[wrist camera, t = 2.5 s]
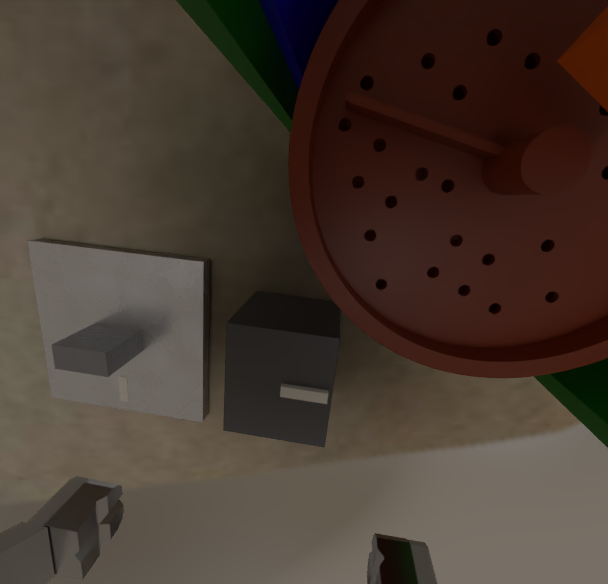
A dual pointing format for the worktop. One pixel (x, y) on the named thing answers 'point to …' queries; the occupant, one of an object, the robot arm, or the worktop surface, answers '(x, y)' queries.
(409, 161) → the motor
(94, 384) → the shaft plate
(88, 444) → the worktop surface
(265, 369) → the dark grey cube
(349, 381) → the worktop surface
